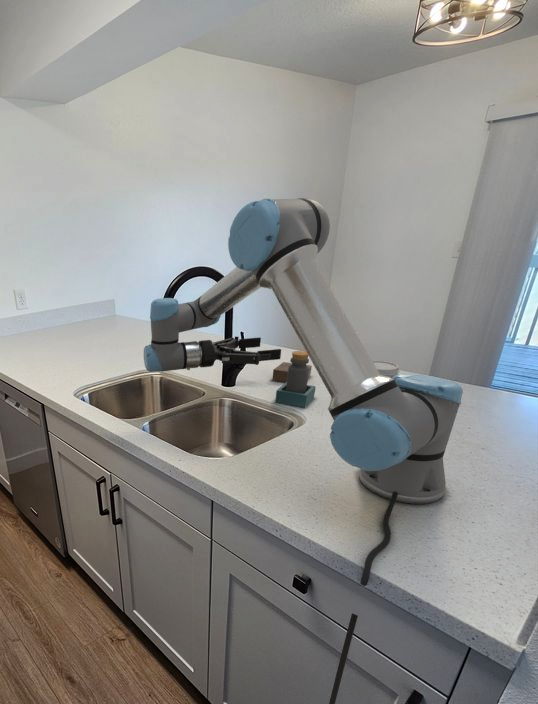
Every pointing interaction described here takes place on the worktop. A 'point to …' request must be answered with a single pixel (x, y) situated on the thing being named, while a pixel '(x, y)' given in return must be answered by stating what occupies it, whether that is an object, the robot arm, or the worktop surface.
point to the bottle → (298, 372)
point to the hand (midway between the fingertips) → (269, 347)
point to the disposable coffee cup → (386, 368)
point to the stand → (284, 372)
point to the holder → (295, 396)
